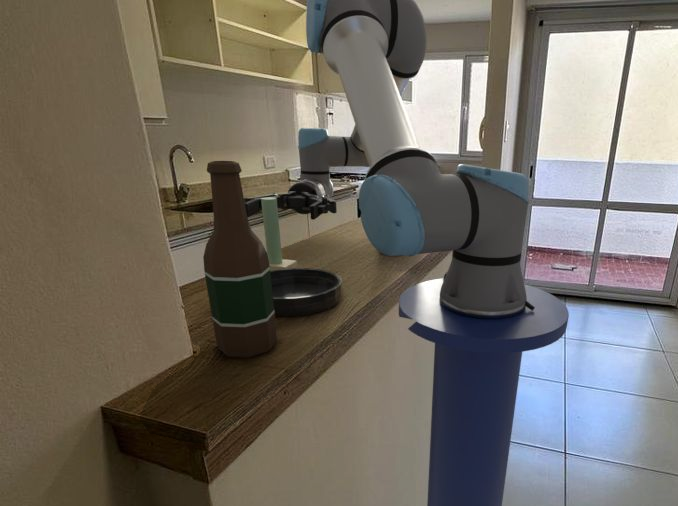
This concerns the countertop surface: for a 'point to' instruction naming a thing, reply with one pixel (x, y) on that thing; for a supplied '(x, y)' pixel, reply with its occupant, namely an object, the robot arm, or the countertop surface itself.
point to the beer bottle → (237, 271)
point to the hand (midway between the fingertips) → (278, 211)
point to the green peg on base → (274, 236)
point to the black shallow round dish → (304, 291)
